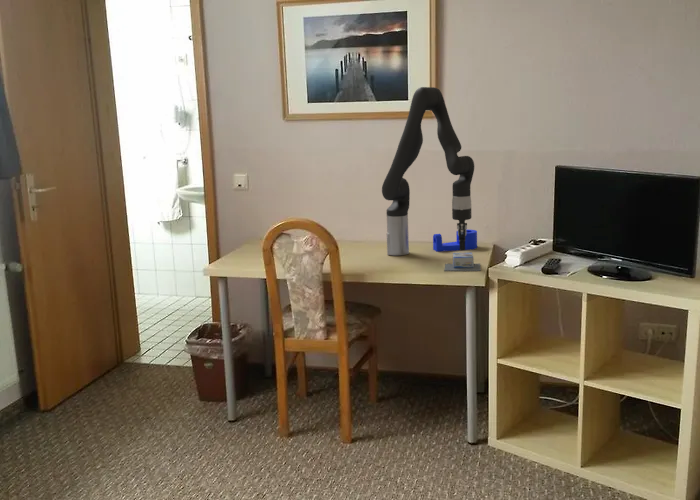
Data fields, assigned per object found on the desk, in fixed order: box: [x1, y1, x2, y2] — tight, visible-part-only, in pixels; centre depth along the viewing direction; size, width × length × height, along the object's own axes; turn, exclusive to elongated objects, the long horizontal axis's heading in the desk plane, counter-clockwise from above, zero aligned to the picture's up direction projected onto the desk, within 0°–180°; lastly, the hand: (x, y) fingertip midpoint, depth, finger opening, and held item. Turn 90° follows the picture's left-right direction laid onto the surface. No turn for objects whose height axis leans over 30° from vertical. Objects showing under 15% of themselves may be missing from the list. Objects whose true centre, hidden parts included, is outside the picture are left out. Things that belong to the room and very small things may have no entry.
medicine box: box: [452, 252, 475, 268], centre depth 285 cm, size 8×4×9 cm
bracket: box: [432, 229, 478, 252], centre depth 319 cm, size 20×9×8 cm, turn 103°
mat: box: [443, 263, 482, 272], centre depth 284 cm, size 14×11×1 cm
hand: (462, 249), depth 286 cm, fingers closed
